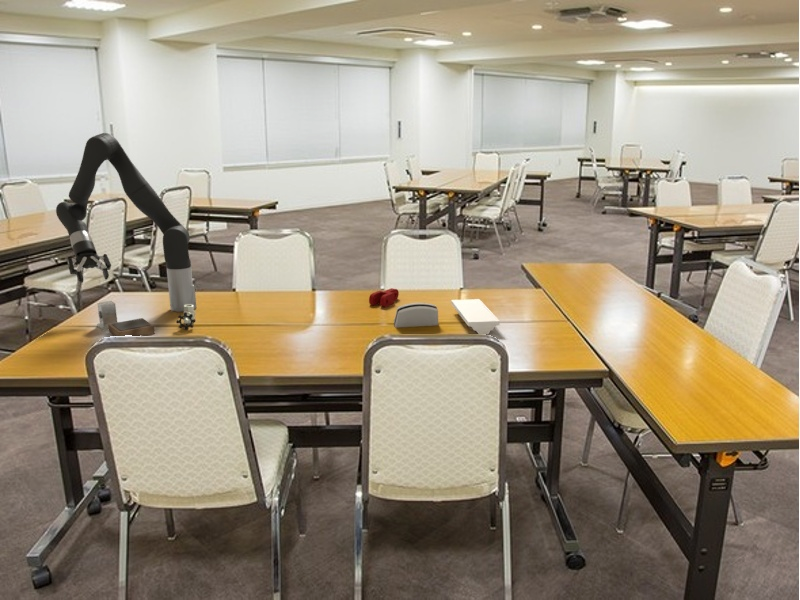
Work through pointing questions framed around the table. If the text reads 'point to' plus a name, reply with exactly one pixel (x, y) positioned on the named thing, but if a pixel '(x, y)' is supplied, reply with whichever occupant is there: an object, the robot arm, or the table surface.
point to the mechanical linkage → (384, 297)
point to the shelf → (476, 315)
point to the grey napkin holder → (416, 315)
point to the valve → (187, 317)
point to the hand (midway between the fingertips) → (94, 280)
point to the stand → (131, 328)
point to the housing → (106, 314)
